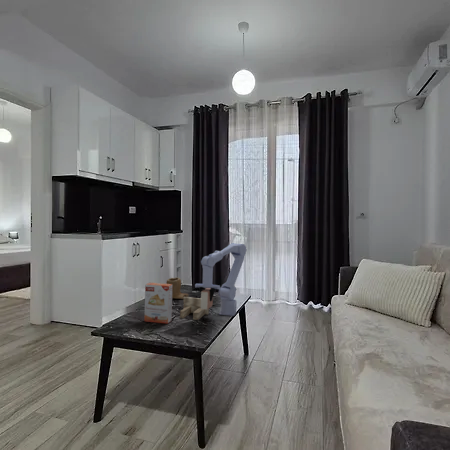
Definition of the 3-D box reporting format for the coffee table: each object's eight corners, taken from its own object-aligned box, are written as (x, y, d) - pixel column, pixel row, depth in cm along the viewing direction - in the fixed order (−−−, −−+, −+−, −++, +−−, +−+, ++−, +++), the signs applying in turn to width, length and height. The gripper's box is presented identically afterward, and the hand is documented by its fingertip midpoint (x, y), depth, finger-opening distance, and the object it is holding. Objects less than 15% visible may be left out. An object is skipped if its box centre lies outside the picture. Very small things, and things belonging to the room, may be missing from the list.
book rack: (208, 313, 194) (209, 299, 194) (201, 320, 181) (201, 304, 181) (184, 311, 198) (184, 296, 198) (175, 317, 185) (175, 302, 185)
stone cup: (162, 299, 226) (163, 278, 226) (169, 295, 238) (170, 275, 238) (183, 301, 223) (183, 279, 222) (188, 297, 234) (189, 277, 234)
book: (212, 305, 189) (213, 288, 188) (207, 309, 179) (207, 292, 178) (206, 304, 190) (206, 287, 189) (200, 309, 180) (201, 291, 179)
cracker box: (143, 321, 175) (144, 284, 175) (148, 318, 181) (149, 282, 181) (167, 324, 172) (168, 285, 172) (171, 320, 178) (172, 283, 178)
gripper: (193, 277, 182) (192, 301, 182) (217, 279, 178) (217, 303, 179) (197, 275, 189) (196, 298, 189) (221, 277, 185) (220, 300, 185)
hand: (207, 300), depth 184 cm, fingers closed on book, 4 cm apart
